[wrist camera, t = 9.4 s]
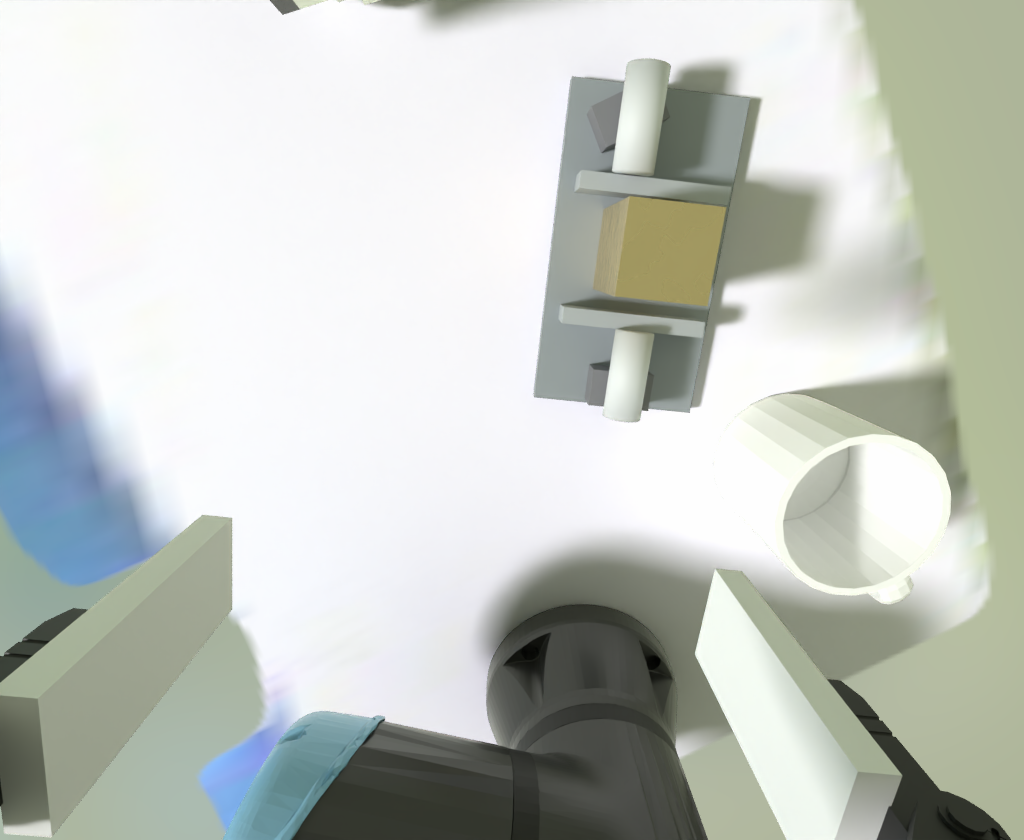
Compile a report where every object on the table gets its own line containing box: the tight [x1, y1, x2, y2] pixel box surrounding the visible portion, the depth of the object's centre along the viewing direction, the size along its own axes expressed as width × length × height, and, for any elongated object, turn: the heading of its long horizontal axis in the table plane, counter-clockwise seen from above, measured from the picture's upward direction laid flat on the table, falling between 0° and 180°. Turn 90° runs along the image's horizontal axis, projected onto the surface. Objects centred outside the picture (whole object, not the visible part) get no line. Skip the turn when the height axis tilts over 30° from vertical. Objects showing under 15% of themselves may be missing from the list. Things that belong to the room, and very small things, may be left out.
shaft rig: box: [534, 59, 750, 422], centre depth 36 cm, size 20×11×5 cm, turn 174°
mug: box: [713, 393, 951, 604], centre depth 38 cm, size 13×10×10 cm
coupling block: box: [593, 196, 726, 306], centre depth 34 cm, size 5×5×8 cm
